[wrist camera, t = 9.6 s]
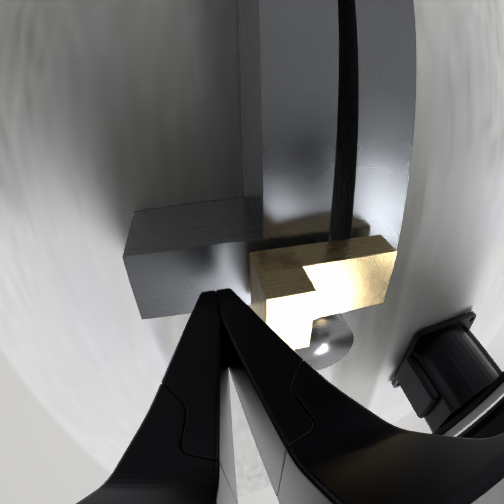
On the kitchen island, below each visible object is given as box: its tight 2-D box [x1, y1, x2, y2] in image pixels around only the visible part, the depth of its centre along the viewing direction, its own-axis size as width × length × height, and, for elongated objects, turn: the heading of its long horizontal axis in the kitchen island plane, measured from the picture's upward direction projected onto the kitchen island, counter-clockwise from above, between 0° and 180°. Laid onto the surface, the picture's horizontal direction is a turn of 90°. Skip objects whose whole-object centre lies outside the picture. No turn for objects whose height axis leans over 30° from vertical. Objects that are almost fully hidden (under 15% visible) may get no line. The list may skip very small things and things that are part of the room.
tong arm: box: [293, 0, 416, 370], centre depth 9 cm, size 4×21×3 cm, turn 4°
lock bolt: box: [249, 234, 397, 349], centre depth 9 cm, size 4×2×2 cm, turn 91°
